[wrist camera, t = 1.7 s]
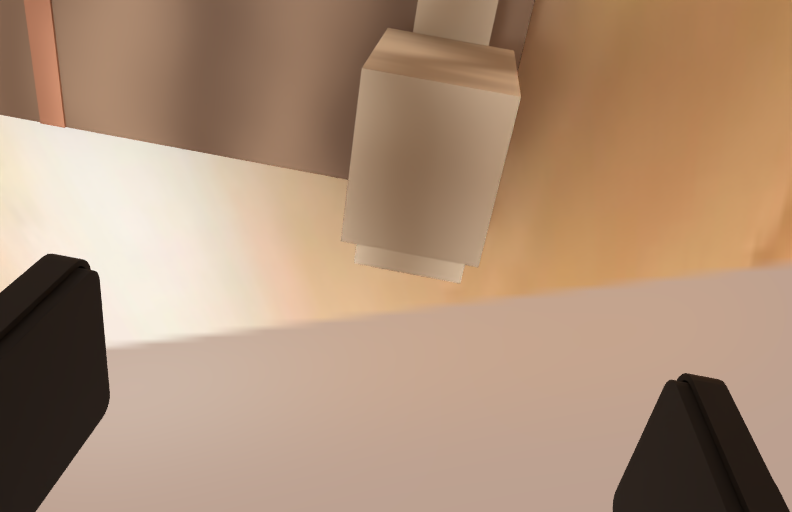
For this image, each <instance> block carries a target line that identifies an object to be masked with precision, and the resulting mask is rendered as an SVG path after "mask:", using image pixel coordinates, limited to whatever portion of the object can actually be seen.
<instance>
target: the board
mask: <svg viewBox="0 0 792 512" xmlns="http://www.w3.org/2000/svg"><path fill="white" fill-rule="evenodd" d="M534 2H535V0H498V5H497V10H496V14H495V19H494V23H493V28H492V33H491V37H490V42H489V46H492V47H497V48H503V49H508V50H514V54H515V60H516V67H517V72H518V68H519V63H520V59H521V55H522V51H523V47H524V43H525V39H526V35H527V31H528V26H529V22H530V18H531V14H532V10H533V6H534ZM417 3H418V0H0V115H5V116H10V117H16V118H21V119H26V120H32V121H37V122H40V123H42V124H47V125H53V126H58V127H63V128H65V127H69V128H75V129H80V130H85V131H91V132H96V133H101V134H107V135H112V136H117V137H123V138H128V139H133V140H139V141H144V142H149V143H155V144H160V145H165V146H171V147H176V148H181V149H187V150H192V151H198V152H203V153H208V154H214V155H219V156H224V157H230V158H235V159H240V160H246V161H251V162H256V163H262V164H267V165H272V166H278V167H283V168H288V169H294V170H299V171H304V172H310V173H315V174H320V175H326V176H331V177H336V178H342V179H347V180H348V178H349V170H350V161H351V153H352V145H353V137H354V128H355V120H356V112H357V103H358V95H359V87H360V79H361V70H362V67H363V65H364V64H365V62H366V61H367V59H368V58H369V56H370V55H371V53H372V51H373V50H374V48H375V47H376V45H377V44H378V42H379V41H380V39H381V38H382V36H383V35H384V33H385V31H386V30H387V28H392V29H398V30H403V31H409V32H413V29H414V23H415V16H416V10H417Z"/></svg>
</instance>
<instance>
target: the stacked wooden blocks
mask: <svg viewBox="0 0 792 512" xmlns="http://www.w3.org/2000/svg"><path fill="white" fill-rule="evenodd" d="M497 5H498V0H418V3H417V10H416V16H415V23H414V29H413V32H409V31H403V30H398V29H392V28H387V30H386V31H385V33H384V35H383V36H382V38H381V39H380V41H379V42H378V44H377V45H376V47H375V48H374V50H373V51H372V53H371V55H370V56H369V58H368V59H367V61H366V62H365V64H364V65H363V67H362V70H361V79H360V87H359V95H358V103H357V112H356V120H355V128H354V137H353V145H352V153H351V161H350V170H349V178H348V186H347V194H346V203H345V211H344V219H343V228H342V236H341V241H342V242H347V243H353V244H357V245H356V252H355V259H354V263H355V264H360V265H366V266H371V267H376V268H381V269H387V270H392V271H397V272H402V273H408V274H413V275H418V276H423V277H429V278H434V279H439V280H444V281H450V282H455V283H461V279H462V274H463V270H464V266H465V265H469V266H474V267H479V263H480V259H481V255H482V251H483V247H484V243H485V239H486V235H487V231H488V227H489V223H490V219H491V215H492V211H493V207H494V203H495V199H496V195H497V191H498V187H499V183H500V179H501V175H502V171H503V167H504V163H505V159H506V155H507V151H508V147H509V143H510V139H511V135H512V131H513V127H514V123H515V120H516V116H517V112H518V108H519V104H520V100H521V93H520V86H519V80H518V73H517V67H516V60H515V54H514V50H508V49H503V48H497V47H492V46H489V42H490V37H491V33H492V28H493V23H494V19H495V14H496V10H497Z"/></svg>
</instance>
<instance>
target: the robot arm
mask: <svg viewBox="0 0 792 512" xmlns="http://www.w3.org/2000/svg"><path fill="white" fill-rule="evenodd" d="M109 398H110V391H109V380H108V369H107V357H106V346H105V335H104V323H103V312H102V301H101V289H100V279H99V275H98V273H97V272H96V271H93V270H91V269H90V265H89V264H88V262H87V261H85V260H83V259H78V258H72V257H67V256H62V255H56V254H47V255H45V256H44V257H42V258H41V259H40V260H39V261H37V262H36V263H35V264H34V265H33V266H31V267H30V268H29V269H28V270H27V271H26V272H24V273H23V274H22V275H21V276H20V277H18V278H17V279H16V280H15V281H14V282H12V283H11V284H10V285H9V286H8V287H7V288H5V289H4V290H3V291H2V292H1V293H0V512H36V510H37V509H38V507H39V506H40V505H41V503H42V502H43V500H44V499H45V497H46V496H47V495H48V493H49V492H50V490H51V489H52V488H53V486H54V485H55V484H56V482H57V481H58V479H59V478H60V476H61V475H62V474H63V472H64V471H65V470H66V468H67V467H68V465H69V464H70V462H71V461H72V460H73V458H74V457H75V455H76V454H77V453H78V451H79V450H80V448H81V447H82V445H83V444H84V443H85V441H86V440H87V439H88V437H89V436H90V434H91V433H92V432H93V430H94V429H95V427H96V426H97V425H98V423H99V422H100V420H101V419H102V417H103V416H104V414H105V412H106V410H107V407H108V404H109ZM613 512H790V511H789V509H788V507H787V505H786V503H785V501H784V499H783V497H782V495H781V493H780V492H779V489H778V487H777V485H776V484H775V482H774V481H773V479H772V477H771V475H770V473H769V471H768V469H767V467H766V465H765V463H764V461H763V459H762V457H761V455H760V453H759V451H758V449H757V446H756V444H755V442H754V441H753V438H752V436H751V434H750V432H749V430H748V428H747V426H746V424H745V423H744V420H743V418H742V417H741V415H740V412H739V410H738V408H737V406H736V404H735V402H734V400H733V398H732V396H731V394H730V392H729V390H728V388H727V386H726V385H725V384H724V382H723V381H721V380H719V379H714V378H709V377H703V376H698V375H693V374H687V373H685V374H682V375H681V376H680V377H679V378H678V379H677V381H676V380H669V381H668V382H667V383H666V384H665V386H664V388H663V390H662V392H661V394H660V397H659V399H658V401H657V403H656V405H655V407H654V410H653V412H652V414H651V416H650V418H649V420H648V423H647V425H646V427H645V429H644V431H643V433H642V436H641V438H640V440H639V442H638V444H637V446H636V448H635V451H634V453H633V455H632V457H631V459H630V461H629V464H628V466H627V468H626V470H625V472H624V475H623V477H622V479H621V481H620V483H619V485H618V488H617V490H616V492H615V495H614V500H613Z"/></svg>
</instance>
